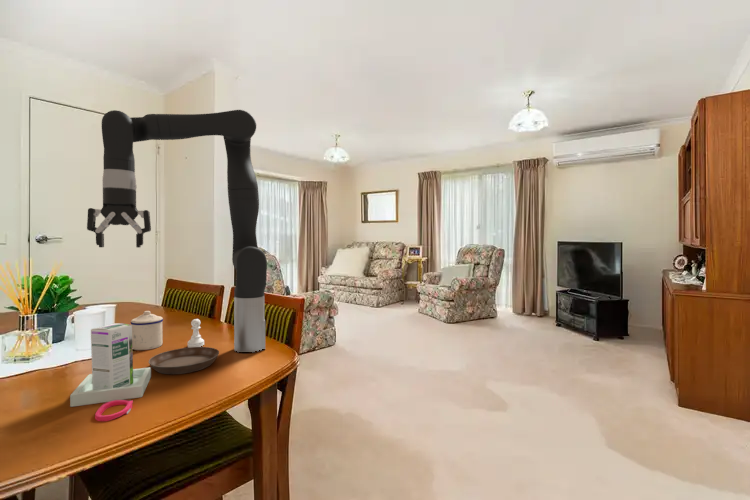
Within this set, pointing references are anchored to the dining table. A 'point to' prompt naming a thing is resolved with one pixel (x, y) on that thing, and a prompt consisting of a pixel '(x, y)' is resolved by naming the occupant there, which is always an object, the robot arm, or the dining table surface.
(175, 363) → the plant saucer
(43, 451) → the dining table surface
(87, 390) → the tray
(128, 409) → the fitness band
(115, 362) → the syrup box
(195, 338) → the chess pawn
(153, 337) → the teacup with lid
